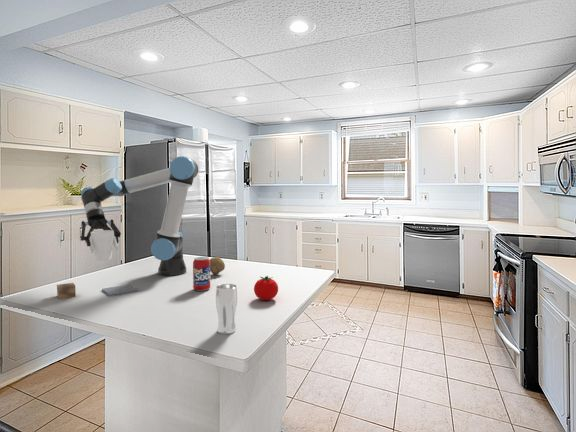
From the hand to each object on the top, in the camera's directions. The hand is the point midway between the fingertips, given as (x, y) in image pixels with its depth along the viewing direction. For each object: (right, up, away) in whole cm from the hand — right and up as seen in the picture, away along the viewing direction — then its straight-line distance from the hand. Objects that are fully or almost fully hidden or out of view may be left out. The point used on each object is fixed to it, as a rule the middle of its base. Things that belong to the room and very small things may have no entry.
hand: (105, 249), depth 154 cm
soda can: (+44, -19, +3) cm, 48 cm away
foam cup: (-2, -5, +3) cm, 6 cm away
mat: (+7, -19, 0) cm, 20 cm away
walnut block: (-12, -20, -8) cm, 25 cm away
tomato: (+75, -21, -10) cm, 78 cm away
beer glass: (+64, -23, -42) cm, 80 cm away
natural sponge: (+45, -17, +31) cm, 57 cm away
